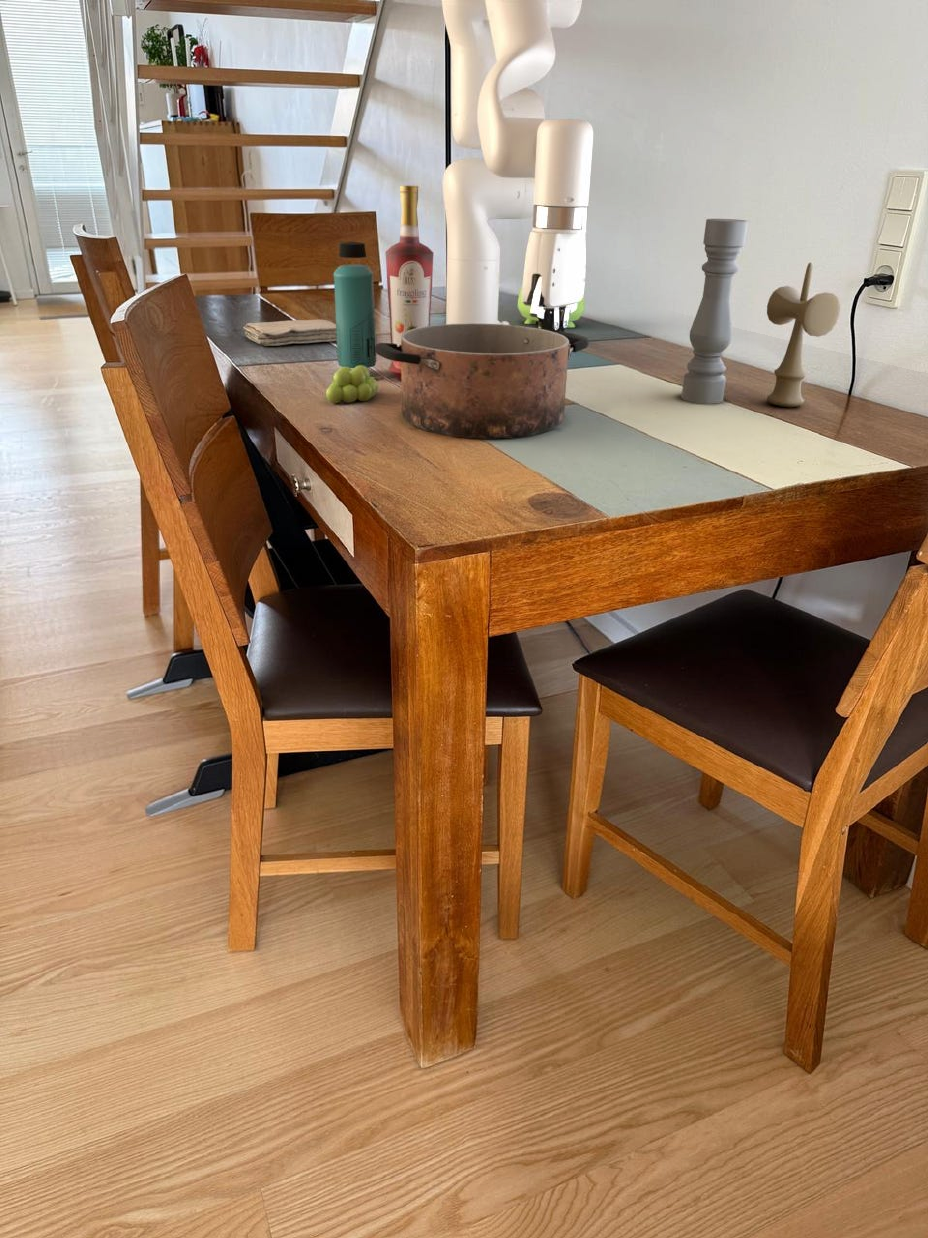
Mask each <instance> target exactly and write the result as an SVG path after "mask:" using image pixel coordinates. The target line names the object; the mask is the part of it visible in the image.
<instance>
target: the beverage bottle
mask: <svg viewBox="0 0 928 1238" xmlns="http://www.w3.org/2000/svg"><path fill="white" fill-rule="evenodd" d="M338 257H339V258H346V259H360V258H361V259H363V258H367V252H366V244H365V243H364V242H359V241H345V242H344V241H343V242H340V243H339V251H338ZM332 275H333V282H334V283H333V284H334V285H333V287H334V307H335V309H334V310H335V321H334V324H336V329H335V330H336V336H337V341H335V343H336V344H335V346H336V347H335V349H336V353H335V354H336V358H337V359H336V361H337V363H338V366H339V367H340V368H341V367H344V366H346V367H349V368H351V369H354V368H355V367H356V366H359V365H362V366H365V367H366V368H367V369H369V368H373V367H375V366H376V364H377V361H378V357H377V355H378V354H377V353H376V352H375V348H376V345H377V344H378V343H377V342H378V341H376V328H377V326H376V324H377V321H376V312H375V311H376V307H375V299H376V297H375V290H374V286H375V285H374V272H373V271H372V270H371V268H369V266H367V265H365V264H341V265H339V266H338V267H337V268H336V269H335V270H334V272H333V274H332Z"/></svg>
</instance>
